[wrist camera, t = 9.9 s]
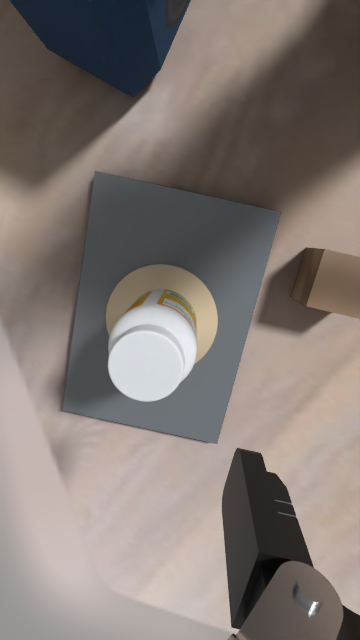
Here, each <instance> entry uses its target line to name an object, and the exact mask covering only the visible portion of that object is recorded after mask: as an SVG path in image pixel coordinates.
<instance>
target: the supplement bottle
mask: <svg viewBox="0 0 360 640" xmlns="http://www.w3.org/2000/svg"><path fill="white" fill-rule="evenodd" d="M108 351H109V358H108V371H109V375H110V378H111V380H112V382H113V384H114V385H115V386H116V388H117V389H118V390H119V391H120V392H122V393H123V394H124V395H126V396H127V397H129V398H131V399H134V400H138V401H145V402H150V401H156V400H160V399H163V398H165V397H167V396H168V395H170V394H171V393H172V392H173V391H174V390H175V389H176V388H177V387H178V385H179V383H180V382H181V381H183V380H184V379H185V378H186V377H187V376H188V374H189V373H190V371H191V370H192V368H193V366H194V363H195V360H196V354H197V325H196V315H195V312H194V309H193V307H192V306H191V304H190V303H189V301H188V300H187V299H186V298H185V297H184V296H182V295H181V294H179V293H177V292H175V291H172V290H169V289H155V290H151V291H149V292H147V293H145V294H143V295H142V296H140V297H139V298H138V299H137V300H136V301H135V302H134V303H133V304H132V306H131V307H130V308H129V309H128V310H127V311H126V312H125V313H124V314H123V315H122V316H121V317H120V319H119V320H118V321H117V323H116V324H115V326H114V327H113V329H112V331H111V334H110V338H109V344H108Z"/></svg>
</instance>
